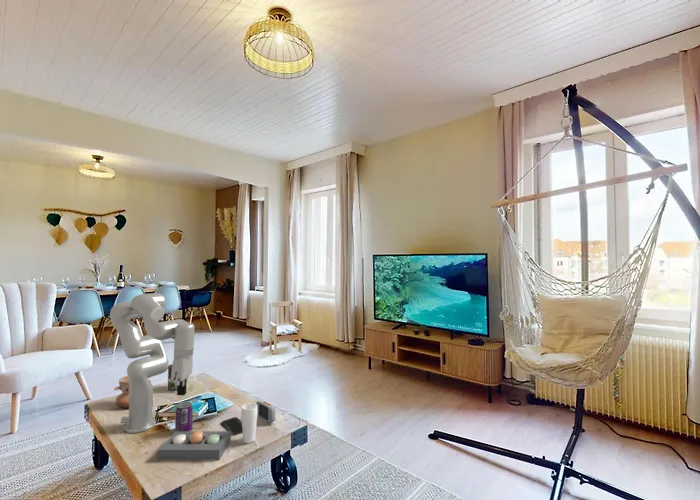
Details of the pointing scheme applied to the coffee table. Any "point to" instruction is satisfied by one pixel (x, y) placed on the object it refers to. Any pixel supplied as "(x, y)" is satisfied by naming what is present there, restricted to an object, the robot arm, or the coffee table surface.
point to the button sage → (213, 439)
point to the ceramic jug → (124, 397)
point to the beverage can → (184, 417)
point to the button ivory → (179, 439)
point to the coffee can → (171, 384)
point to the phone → (233, 425)
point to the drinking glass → (249, 422)
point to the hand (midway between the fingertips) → (181, 394)
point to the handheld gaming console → (265, 411)
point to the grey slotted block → (194, 447)
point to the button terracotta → (196, 437)
